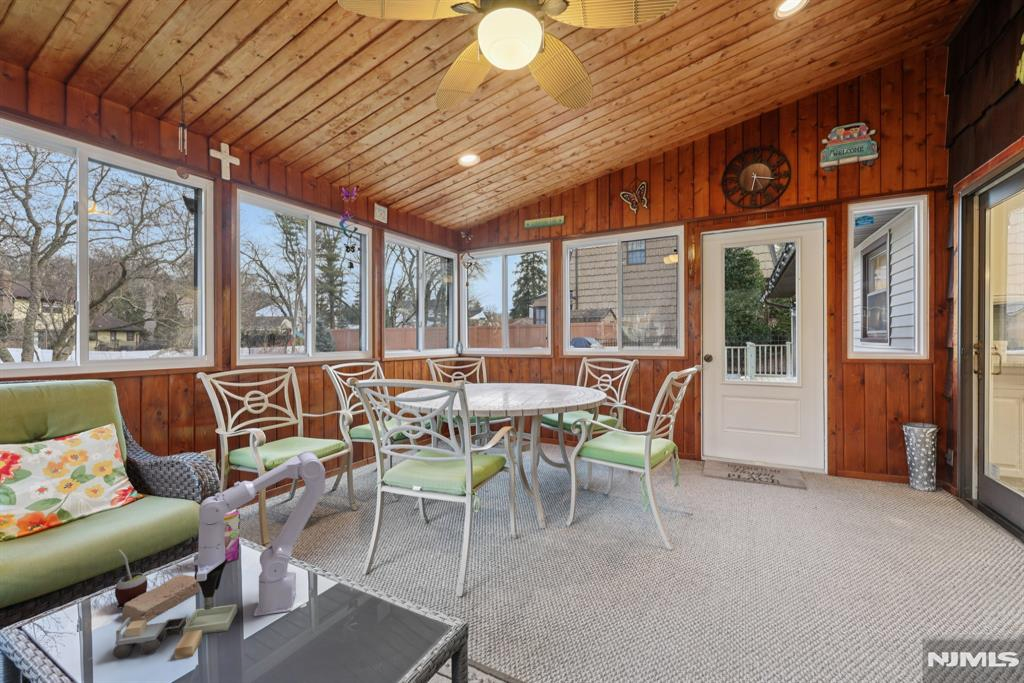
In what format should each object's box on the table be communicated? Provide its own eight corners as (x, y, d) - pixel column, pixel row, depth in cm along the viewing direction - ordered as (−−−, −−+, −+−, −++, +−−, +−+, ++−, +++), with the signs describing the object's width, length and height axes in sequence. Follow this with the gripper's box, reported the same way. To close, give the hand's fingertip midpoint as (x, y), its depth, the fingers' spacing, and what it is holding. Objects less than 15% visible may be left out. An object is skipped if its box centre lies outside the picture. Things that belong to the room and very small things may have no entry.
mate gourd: (141, 610, 125) (141, 557, 124) (105, 615, 122) (105, 561, 121) (151, 595, 131) (152, 545, 131) (118, 600, 129) (118, 549, 128)
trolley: (167, 638, 113) (167, 612, 113) (157, 653, 108) (157, 625, 108) (125, 644, 111) (125, 617, 111) (112, 659, 106) (112, 631, 106)
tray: (236, 611, 125) (237, 604, 125) (227, 630, 117) (227, 622, 117) (195, 617, 122) (195, 609, 122) (183, 636, 114) (183, 628, 114)
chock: (201, 640, 114) (201, 629, 113) (192, 657, 108) (192, 645, 108) (185, 643, 112) (185, 632, 112) (175, 660, 107) (175, 648, 107)
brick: (141, 627, 118) (141, 609, 118) (120, 620, 121) (120, 603, 120) (201, 592, 134) (202, 577, 134) (181, 587, 136) (181, 572, 136)
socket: (186, 623, 119) (186, 617, 119) (179, 634, 115) (179, 627, 115) (167, 626, 118) (167, 619, 118) (160, 636, 114) (160, 630, 114)
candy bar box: (201, 571, 144) (201, 521, 144) (197, 565, 148) (197, 517, 147) (240, 559, 152) (240, 512, 152) (235, 554, 156) (236, 508, 156)
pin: (217, 602, 121) (217, 578, 121) (213, 609, 118) (213, 584, 118) (204, 604, 120) (205, 579, 120) (200, 611, 117) (200, 585, 117)
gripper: (205, 532, 125) (204, 580, 125) (182, 558, 111) (182, 611, 111) (233, 530, 127) (233, 576, 127) (214, 555, 113) (214, 607, 113)
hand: (211, 593), depth 119 cm, fingers closed on pin, 3 cm apart
